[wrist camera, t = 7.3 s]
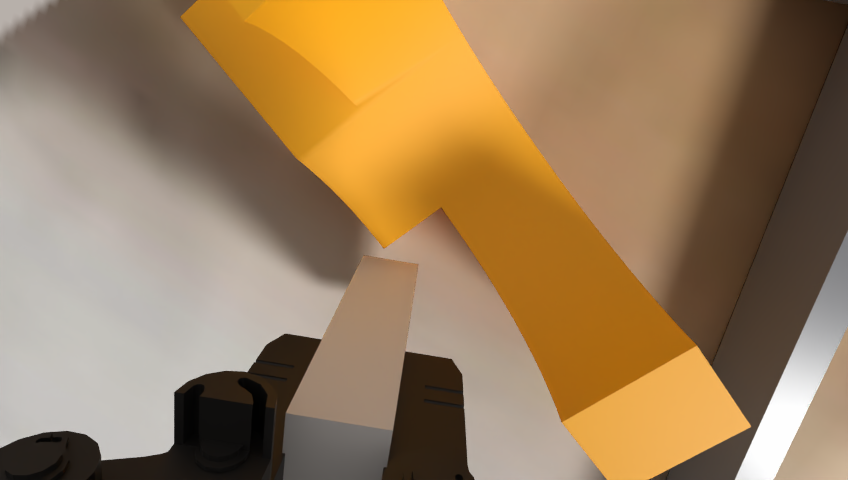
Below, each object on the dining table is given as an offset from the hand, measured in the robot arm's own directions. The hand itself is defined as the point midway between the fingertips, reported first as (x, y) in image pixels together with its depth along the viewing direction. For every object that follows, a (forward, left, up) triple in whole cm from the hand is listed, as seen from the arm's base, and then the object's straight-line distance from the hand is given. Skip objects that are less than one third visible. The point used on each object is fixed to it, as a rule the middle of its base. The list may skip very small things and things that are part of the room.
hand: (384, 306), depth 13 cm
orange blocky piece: (+1, +4, -2) cm, 4 cm away
